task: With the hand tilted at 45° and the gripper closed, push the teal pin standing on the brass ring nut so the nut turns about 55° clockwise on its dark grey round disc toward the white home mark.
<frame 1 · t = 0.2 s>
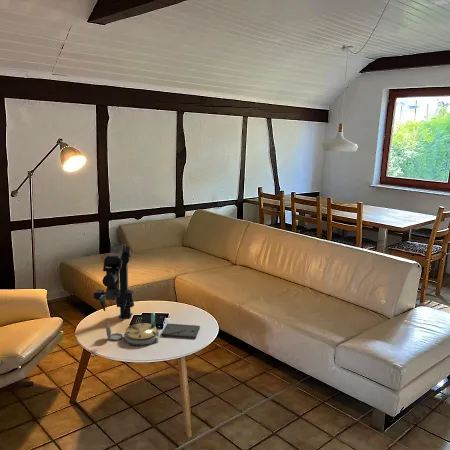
hand: (113, 311, 223), 15 cm above the table, fingers open, 9 cm apart
picture frame: (180, 333, 235), on the table
ring nut: (141, 325, 225), point 7 cm above the table, hinge at 0.0°
pocket watch: (113, 338, 226), on the table
dark grey round disc: (141, 338, 226), on the table
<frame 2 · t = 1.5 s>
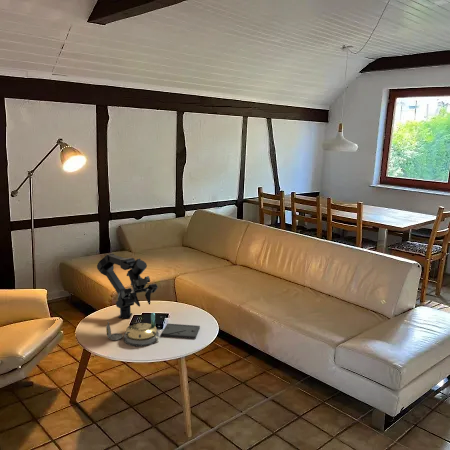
hand: (144, 305, 234), 14 cm above the table, fingers open, 5 cm apart
nothing on the table moved.
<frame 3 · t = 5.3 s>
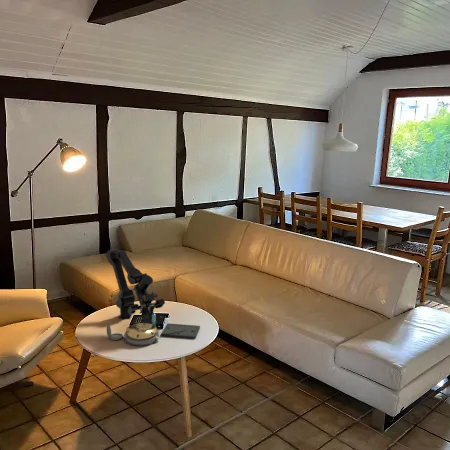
hand: (152, 321, 228), 8 cm above the table, fingers closed, pressing on ring nut
ring nut: (141, 325, 225), point 7 cm above the table, hinge at -7.9°, touching gripper
everything else where it was.
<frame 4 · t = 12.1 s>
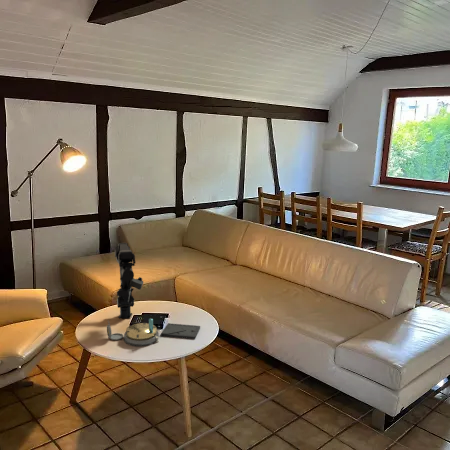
hand: (127, 303, 238), 13 cm above the table, fingers closed
ring nut: (141, 325, 225), point 7 cm above the table, hinge at -68.2°
everything else where it was.
at the end: ring nut at -68° (first picture: +0°); pocket watch moved 0.4 cm from its start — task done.
